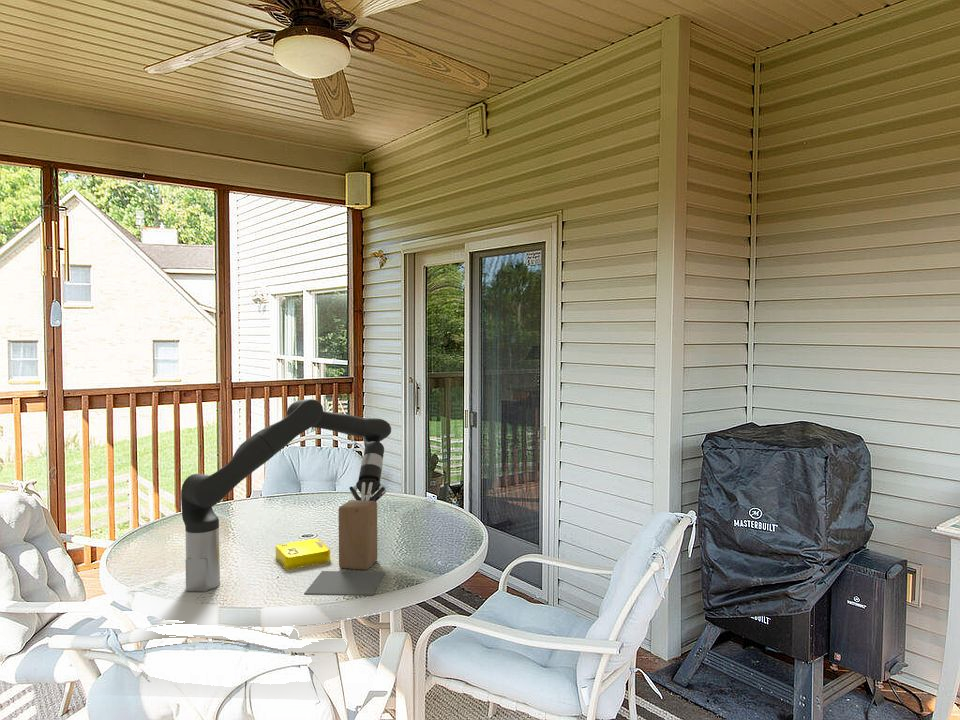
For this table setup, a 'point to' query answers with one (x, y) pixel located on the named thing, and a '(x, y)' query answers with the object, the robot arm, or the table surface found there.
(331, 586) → the mat
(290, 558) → the yellow labelled tile
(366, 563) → the wooden block
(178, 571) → the table surface
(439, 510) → the table surface
